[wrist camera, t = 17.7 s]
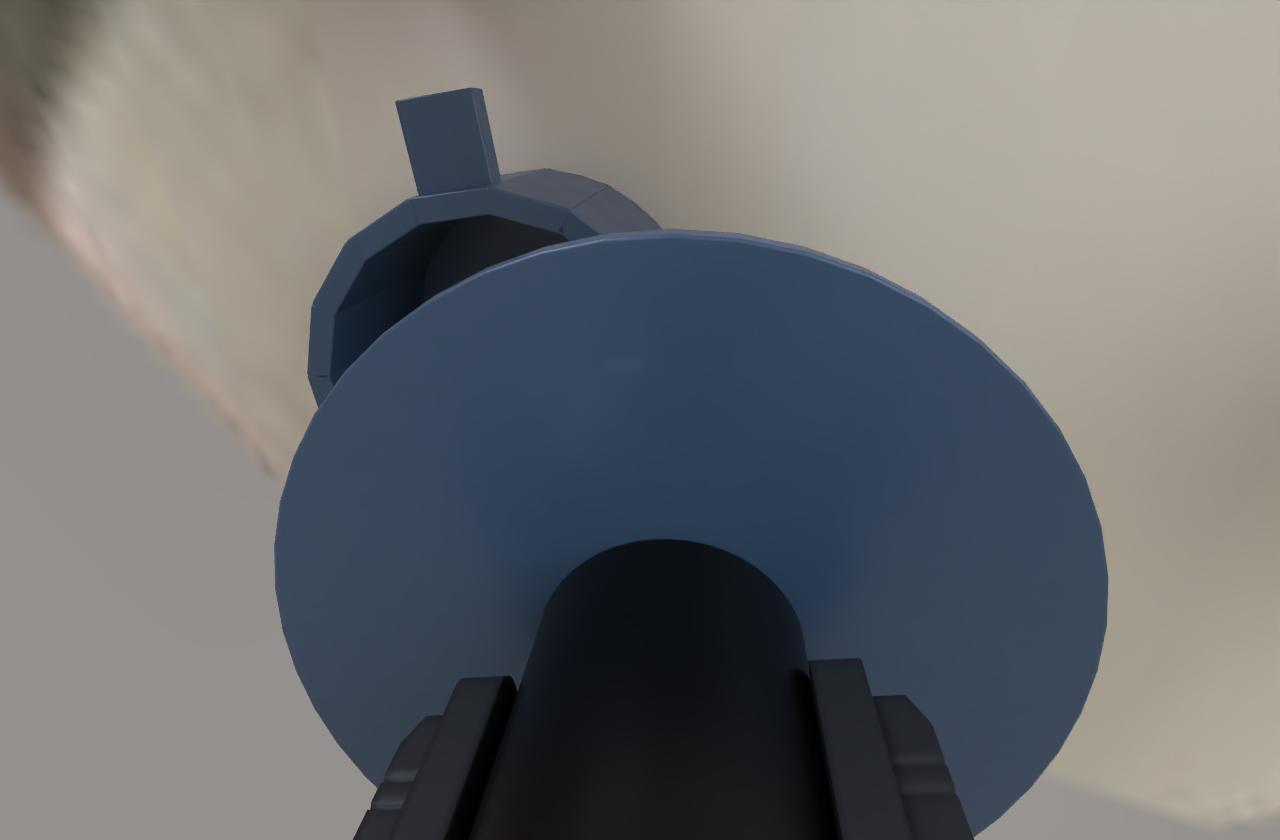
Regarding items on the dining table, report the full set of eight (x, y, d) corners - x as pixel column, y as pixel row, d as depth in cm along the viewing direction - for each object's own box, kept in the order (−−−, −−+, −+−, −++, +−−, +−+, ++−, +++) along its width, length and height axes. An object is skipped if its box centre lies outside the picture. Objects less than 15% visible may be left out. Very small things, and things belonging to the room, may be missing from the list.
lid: (1117, 157, 10) (1982, 247, 3) (1047, 861, 15) (1318, 1459, 8) (192, 285, 11) (-494, 512, 5) (416, 871, 16) (225, 1363, 10)
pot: (666, 72, 27) (644, 55, 19) (716, 492, 34) (715, 605, 26) (356, 124, 29) (222, 128, 21) (462, 513, 36) (390, 623, 28)
